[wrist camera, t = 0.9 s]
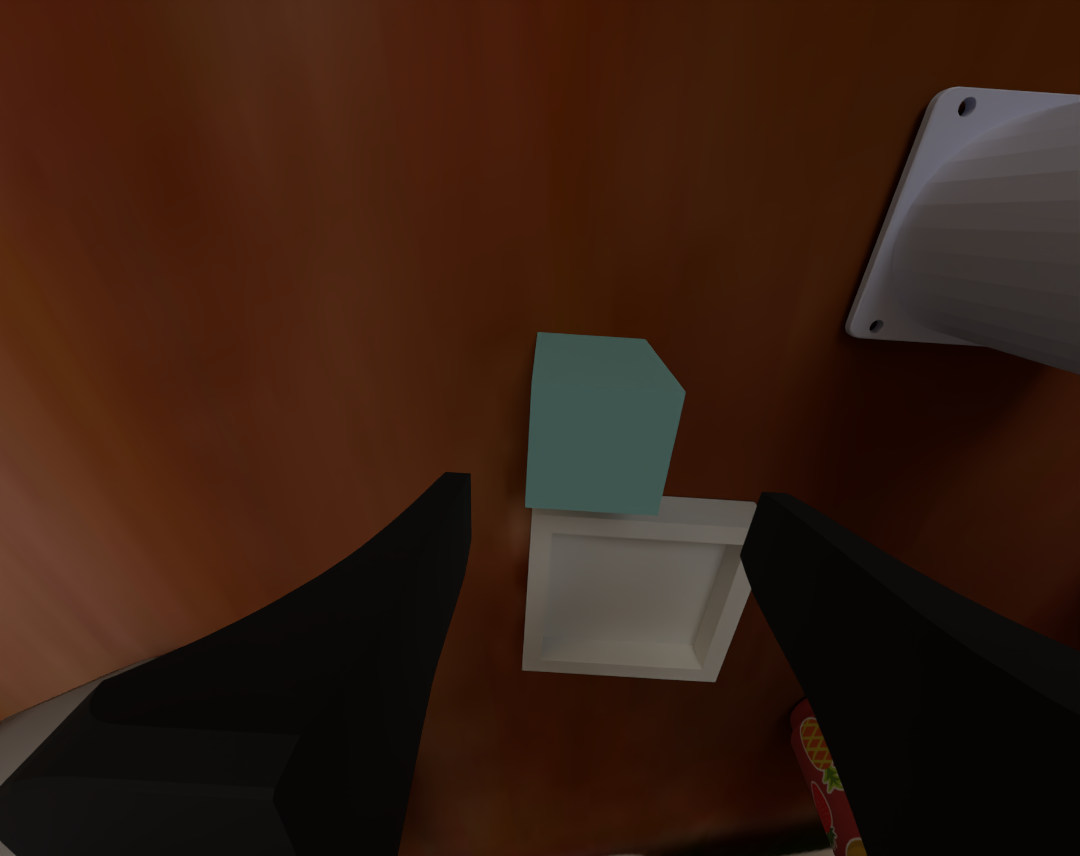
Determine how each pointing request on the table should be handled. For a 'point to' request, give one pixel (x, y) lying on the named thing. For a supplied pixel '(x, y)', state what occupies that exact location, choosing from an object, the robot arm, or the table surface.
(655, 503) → the block
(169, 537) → the table surface
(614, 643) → the tray
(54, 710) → the chamber pot
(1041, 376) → the table surface
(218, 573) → the table surface
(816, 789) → the smoothie
